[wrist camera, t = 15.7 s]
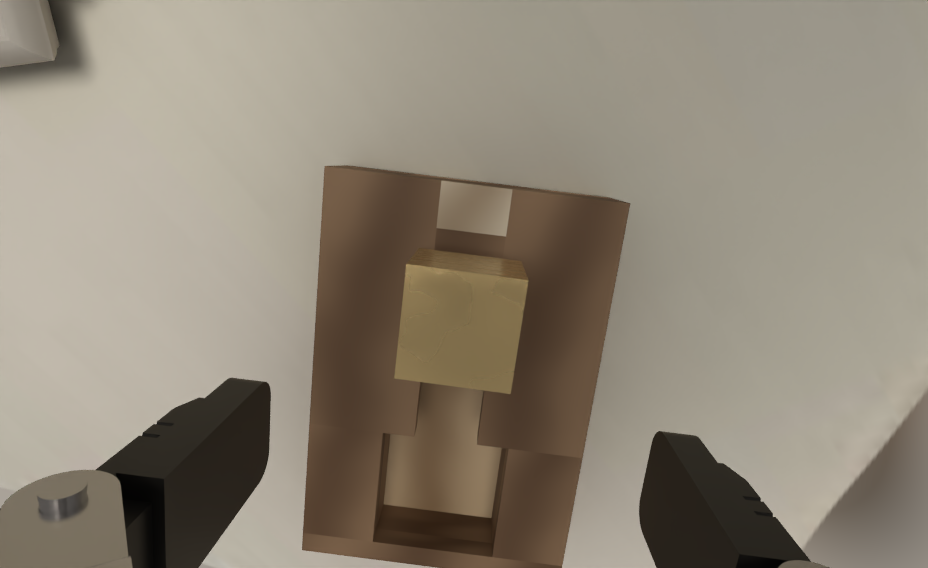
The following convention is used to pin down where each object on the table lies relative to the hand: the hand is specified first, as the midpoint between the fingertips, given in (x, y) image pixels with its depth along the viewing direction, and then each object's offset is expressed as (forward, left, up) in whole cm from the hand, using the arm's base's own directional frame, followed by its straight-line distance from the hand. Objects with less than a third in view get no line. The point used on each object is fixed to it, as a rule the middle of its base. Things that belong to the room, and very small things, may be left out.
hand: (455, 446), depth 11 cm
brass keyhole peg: (0, 0, -16) cm, 16 cm away
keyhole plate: (0, +5, -17) cm, 17 cm away
